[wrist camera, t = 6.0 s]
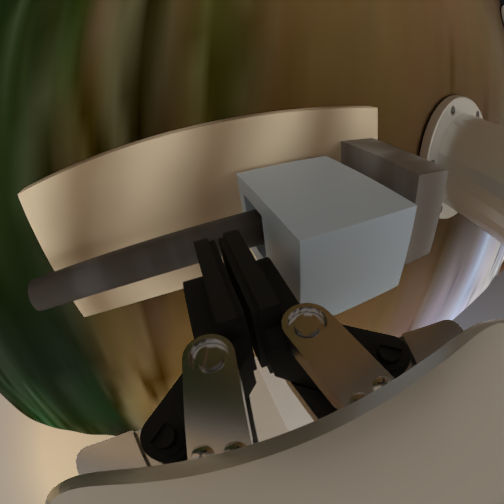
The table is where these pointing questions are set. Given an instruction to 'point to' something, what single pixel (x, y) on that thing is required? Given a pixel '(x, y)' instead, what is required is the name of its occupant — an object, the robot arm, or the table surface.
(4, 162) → the table surface
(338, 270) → the sleeve
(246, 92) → the table surface
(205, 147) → the board
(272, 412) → the milk
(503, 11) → the supplement bottle
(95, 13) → the table surface
